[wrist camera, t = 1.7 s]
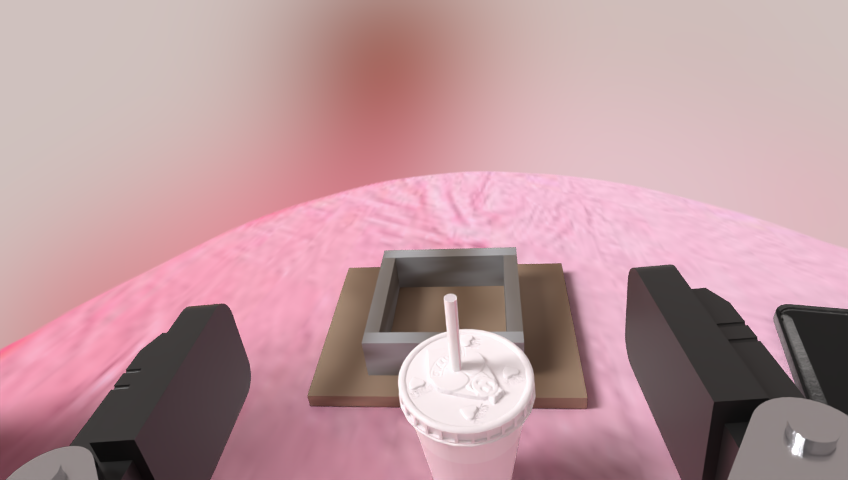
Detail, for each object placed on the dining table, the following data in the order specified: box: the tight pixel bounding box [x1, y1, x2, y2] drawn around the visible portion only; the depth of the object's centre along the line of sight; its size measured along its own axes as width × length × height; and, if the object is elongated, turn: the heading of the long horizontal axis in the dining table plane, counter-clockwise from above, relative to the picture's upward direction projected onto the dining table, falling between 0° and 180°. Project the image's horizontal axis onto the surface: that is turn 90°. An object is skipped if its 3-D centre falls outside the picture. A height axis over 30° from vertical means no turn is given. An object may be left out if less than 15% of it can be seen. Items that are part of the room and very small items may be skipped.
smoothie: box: [398, 294, 536, 480], centre depth 27 cm, size 6×6×14 cm
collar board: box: [308, 247, 588, 409], centre depth 41 cm, size 18×14×4 cm
